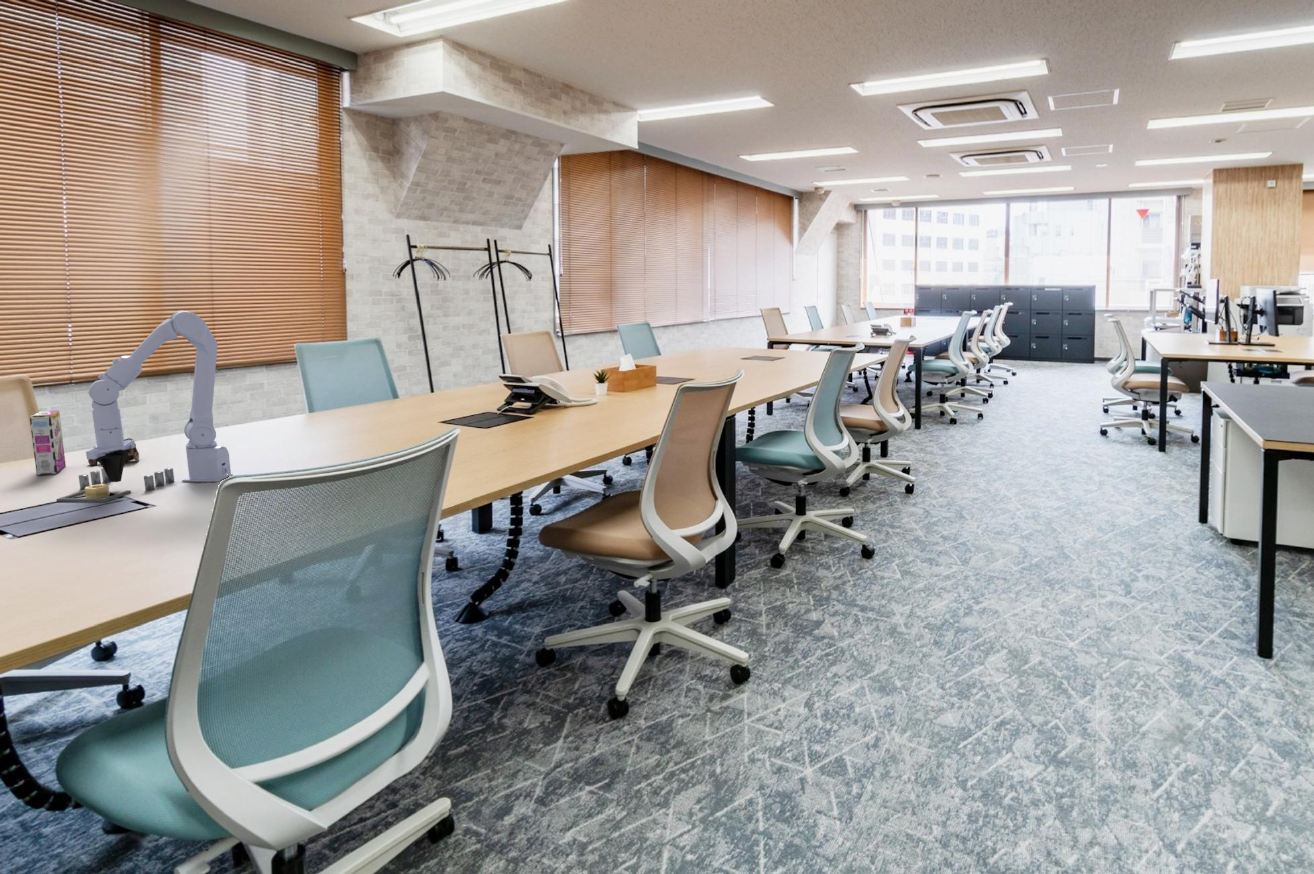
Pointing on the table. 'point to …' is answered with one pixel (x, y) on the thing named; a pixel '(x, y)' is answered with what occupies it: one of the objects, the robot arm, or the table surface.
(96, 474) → the metal pins
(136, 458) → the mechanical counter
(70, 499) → the frame
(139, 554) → the table surface
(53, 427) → the candy bar box
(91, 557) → the table surface
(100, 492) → the nut
